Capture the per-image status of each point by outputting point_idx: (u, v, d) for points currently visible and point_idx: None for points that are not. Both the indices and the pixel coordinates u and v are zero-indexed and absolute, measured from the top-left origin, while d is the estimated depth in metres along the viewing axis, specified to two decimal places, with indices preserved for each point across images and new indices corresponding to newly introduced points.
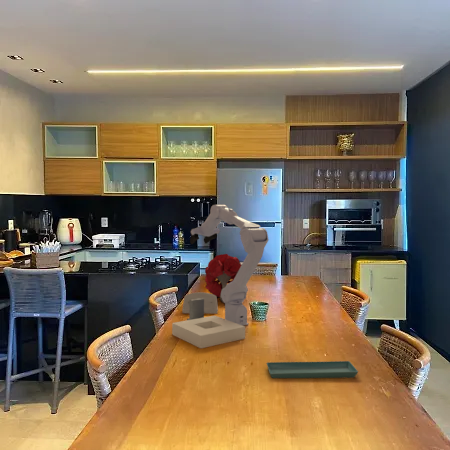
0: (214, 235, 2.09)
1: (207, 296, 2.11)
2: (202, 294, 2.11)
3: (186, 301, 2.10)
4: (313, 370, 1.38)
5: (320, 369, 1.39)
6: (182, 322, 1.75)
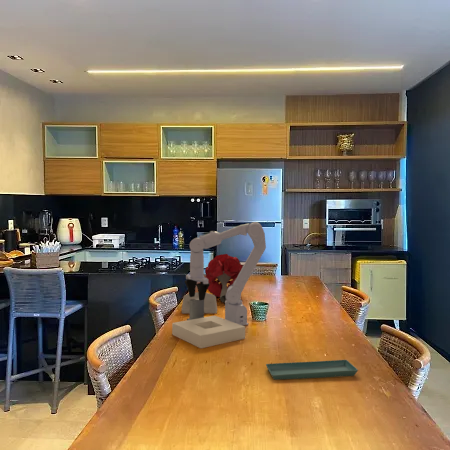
0: None
1: (206, 296, 2.11)
2: None
3: (185, 301, 2.10)
4: (312, 370, 1.38)
5: (319, 369, 1.40)
6: (182, 322, 1.75)
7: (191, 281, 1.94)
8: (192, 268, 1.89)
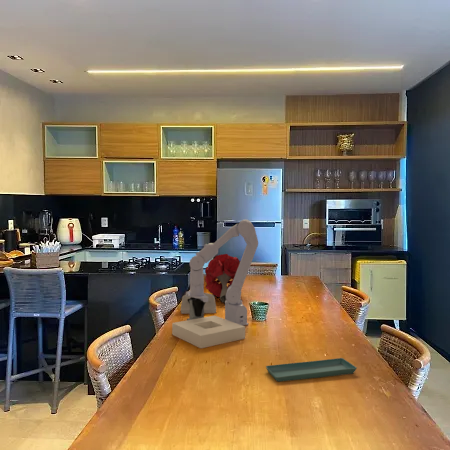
0: None
1: None
2: None
3: (184, 301, 2.10)
4: (312, 370, 1.39)
5: (317, 368, 1.40)
6: (182, 322, 1.75)
7: None
8: (192, 286, 1.89)
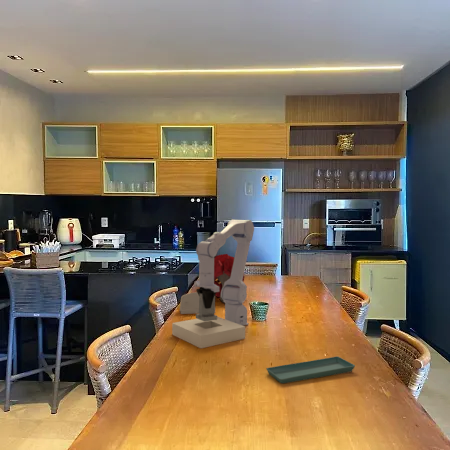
0: None
1: None
2: None
3: (183, 301, 2.09)
4: (311, 370, 1.39)
5: (316, 368, 1.40)
6: (182, 322, 1.75)
7: (204, 290, 1.75)
8: (201, 275, 1.72)
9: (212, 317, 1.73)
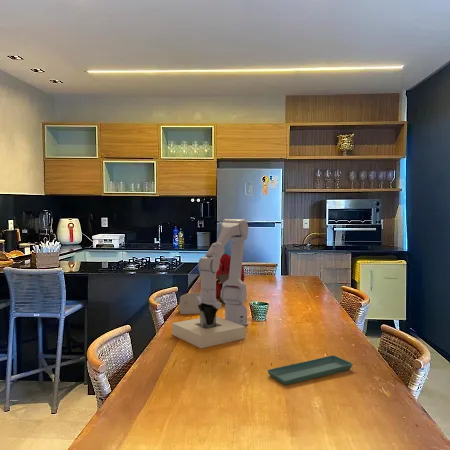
0: None
1: None
2: (198, 294, 2.11)
3: (183, 302, 2.09)
4: (310, 369, 1.39)
5: (314, 367, 1.41)
6: (182, 322, 1.75)
7: (205, 305, 1.73)
8: (203, 290, 1.69)
9: None
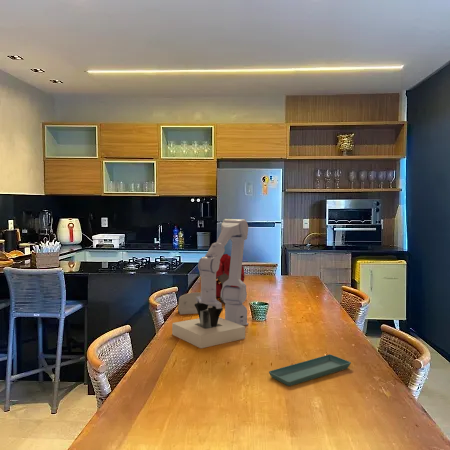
0: None
1: None
2: (197, 294, 2.11)
3: (182, 302, 2.09)
4: (310, 369, 1.39)
5: (313, 367, 1.41)
6: (182, 322, 1.75)
7: (202, 304, 1.75)
8: (203, 291, 1.69)
9: None
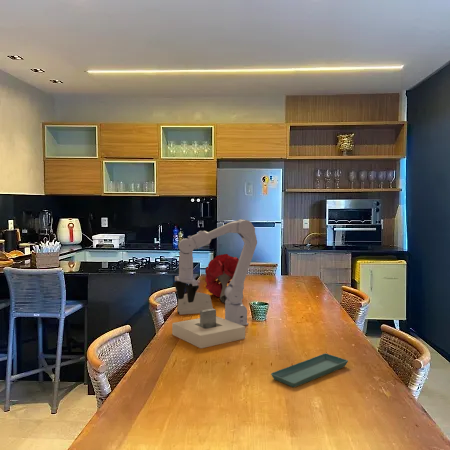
0: None
1: (201, 296, 2.12)
2: (196, 294, 2.11)
3: (181, 302, 2.08)
4: (309, 369, 1.39)
5: (311, 367, 1.41)
6: (182, 322, 1.75)
7: (180, 283, 1.89)
8: (181, 269, 1.84)
9: None
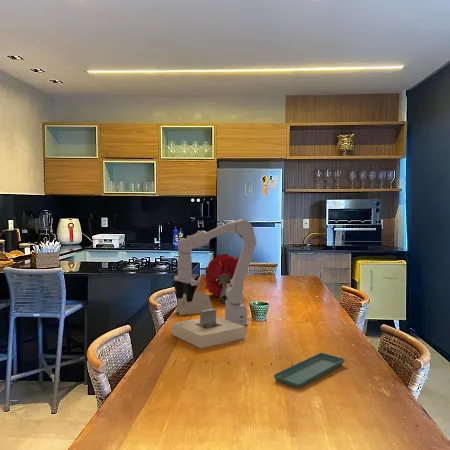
0: (182, 281, 1.92)
1: (201, 296, 2.12)
2: (196, 294, 2.11)
3: (181, 302, 2.08)
4: (308, 369, 1.39)
5: (310, 367, 1.41)
6: (182, 322, 1.75)
7: (179, 282, 1.90)
8: (180, 269, 1.85)
9: None
